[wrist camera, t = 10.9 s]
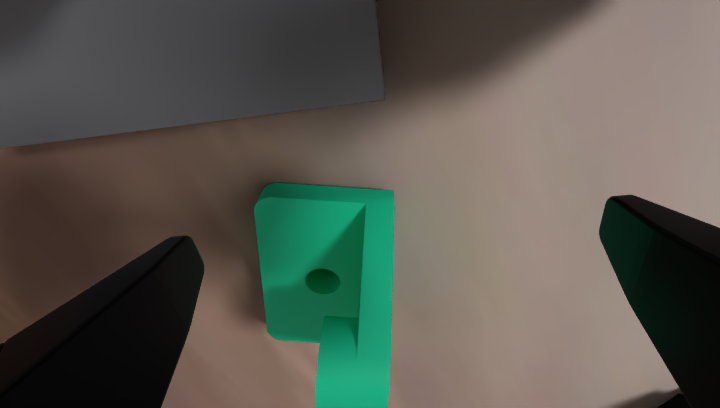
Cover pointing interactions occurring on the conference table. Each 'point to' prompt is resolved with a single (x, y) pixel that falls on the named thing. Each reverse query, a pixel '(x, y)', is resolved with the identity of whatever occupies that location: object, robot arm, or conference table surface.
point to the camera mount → (331, 283)
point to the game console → (676, 402)
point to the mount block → (178, 63)
